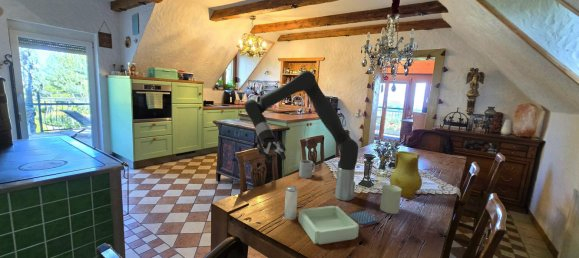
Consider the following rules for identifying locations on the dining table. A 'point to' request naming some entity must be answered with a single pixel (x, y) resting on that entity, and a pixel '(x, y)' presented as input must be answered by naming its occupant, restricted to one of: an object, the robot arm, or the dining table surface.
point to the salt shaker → (291, 202)
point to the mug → (306, 168)
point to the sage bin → (327, 224)
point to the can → (390, 199)
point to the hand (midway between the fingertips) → (277, 160)
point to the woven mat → (363, 218)
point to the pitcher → (406, 173)
